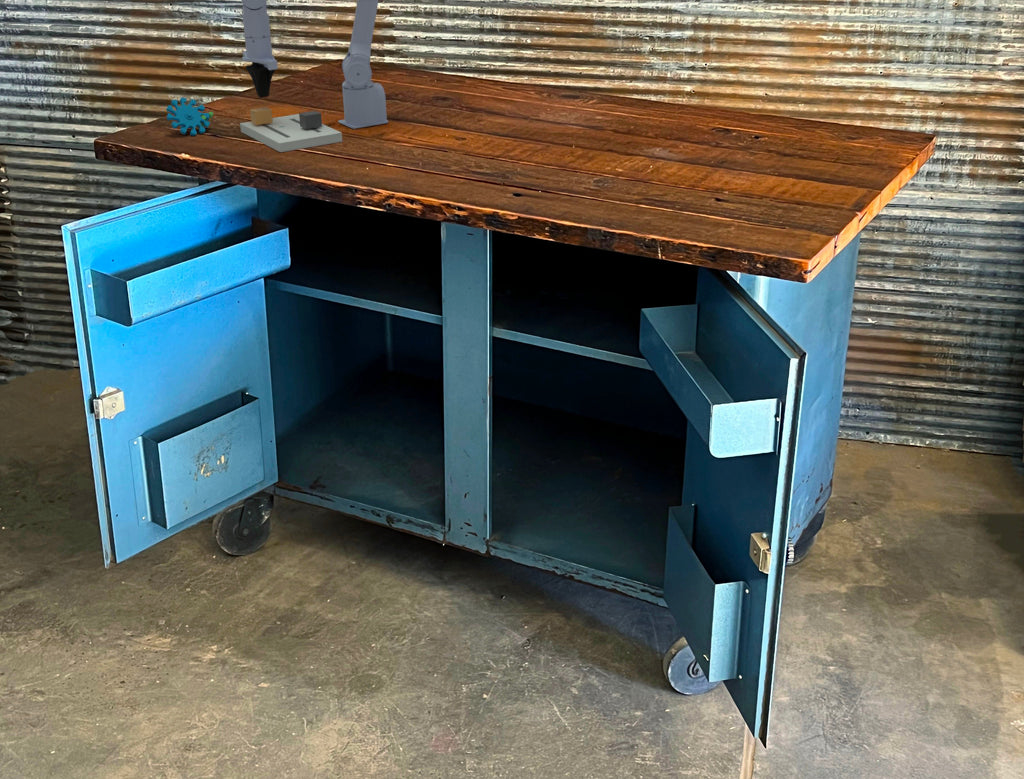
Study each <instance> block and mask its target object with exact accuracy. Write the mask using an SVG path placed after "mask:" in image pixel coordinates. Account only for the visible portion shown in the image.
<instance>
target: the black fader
mask: <svg viewBox="0 0 1024 779" xmlns="http://www.w3.org/2000/svg"><path fill="white" fill-rule="evenodd" d="M298 114H299V118H300V127H302V128H304V129H310V128H316V127H322V124H323V121H322V120H323V119H322V113H321V112H319V111H316V110H311V111H306V112H299V113H298Z"/></svg>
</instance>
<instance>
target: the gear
mask: <svg viewBox="0 0 1024 779" xmlns="http://www.w3.org/2000/svg"><path fill="white" fill-rule="evenodd" d="M178 102H180V106H179V105H178ZM186 102H187V98H186V97H183V96H181V97H180V99H179V101H178V99H173V100H171V102H170V104H171V105H170V104H169V105H168V106H167V107H166V112H168V113H167V115H166V120H167V121H172V122H171V124H170V125H171V127H172V128H173V129H177V128H178V127H180V130H179V132H180V133H181V134H183V135H186V134H187V130H188V129H191V130H190V133H189V135H190V136H194V137H195V136H196V135H197V134H198V133H197V130H196V128H198V132H199V134H204V133H205V132H206V129H207V128H208V127H209V126H210V124H211V122H210V119H212V118H213V116H214V112H213V111H209V112H205V113H204V111H205V109H206V108H205V106H204V104H200V105H199V106H195V105H196V104H197V101H196V100H195V99H193V98H191V99H190V101H189V104H187V105H186ZM173 107H174V108H175V110H174V108H173Z"/></svg>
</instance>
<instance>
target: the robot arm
mask: <svg viewBox="0 0 1024 779" xmlns="http://www.w3.org/2000/svg"><path fill="white" fill-rule="evenodd" d="M241 2H242V13H243V14H242V21H243V33H244V34H243V35H244V42H245V50H243V51H242V57H241V60H242V61H243V62H250V63H251V64H250V65H249V64H248V65H245V69H246V71H247V73H248V74H249V76H250V78H251V80H252V83H253V85H254V88H255V91H256V94H257V97H258V98H268V97H269V96H270V89H271V83H272V78H273V75H274V73H275V71H276V70H278V68H279V67H278V60H276V59H275V56H274V54H273V50H272V49H273V47H272V39H271V38H272V37H271V28H270V16H269V13H268V10H267V2H268V0H241ZM378 6H379V0H356V7H355V13H354V19H353V26H352V32H351V38H350V43H349V45H348V50H347V51H348V52H347V54H346V55H345V57H344V58H343V60H342V63H341V68H342V72H343V76H344V79H345V80H344V81H343V82H342V84H341V86H342V101H343V102H342V103H343V113H344V114H343V115H344V119H340V120H338V121H337V123H339V124H341V125H344V126H346V127H348V128H351V129H360V128H366V127H371V126H372V127H373V126H378V125H384V124H389V120H388V116H387V103H386V102H387V101H386V92H385V89H384V87H383V85H382V84H381V83H378V82H374V81H373V80H371V79H372V75H373V72H372V68H371V65H370V64H371V50H372V49H371V48H372V42H373V35H374V29H375V22H376V17H377V12H378Z"/></svg>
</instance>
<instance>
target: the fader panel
mask: <svg viewBox="0 0 1024 779" xmlns="http://www.w3.org/2000/svg"><path fill="white" fill-rule="evenodd" d="M272 119H273V123H267V124H261V125H255V124H253V123H251V121H245V122H240V123H239V125H240V133H242V134H245V135H246V136H248V137H250V138H252V139H253V140H256V141H258V142H259V143H261V144H264V145H265V146H267V147H269V148H272V149H273V150H274V151H277V152H280V153H283V152H284V153H285V152H290V151H295V150H296V151H297V150H302V149H307V148H312V147H319V146H324V145H330V144H336V143H342V142H343V134H342V133H343V132H342V131H339V130H336V129H335V128H332V127H330V126H328V125H325V124H324V123H322V127H316V128H310V129H304V128H302V127H300V118H299V113H296V114H290V115H284V116H279V117H278V116H277V117H272Z"/></svg>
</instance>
